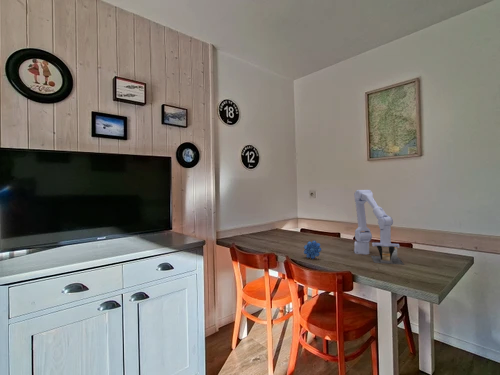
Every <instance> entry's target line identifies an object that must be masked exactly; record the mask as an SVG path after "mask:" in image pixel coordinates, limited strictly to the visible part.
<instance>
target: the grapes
mask: <svg viewBox="0 0 500 375" xmlns="http://www.w3.org/2000/svg"><path fill="white" fill-rule="evenodd" d="M320 252H322V247H321V243H320V242H317V241H316V240H312V241H307V243H306V244H305V245H304V246H303V254H304V255H305V256H306V258H307V259H309V258H311V260H314V259H315V258H316V257H318V258H319V256H320Z"/></svg>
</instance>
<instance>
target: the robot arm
mask: <svg viewBox="0 0 500 375" xmlns="http://www.w3.org/2000/svg"><path fill="white" fill-rule="evenodd" d="M354 202H355V208H356V217H357V228H356V229H355V230H354V238H355V241H354V246H353V247H354V249H353V252H354V254H356V255H369V254H370V242H371V240H372V239H373V235H372V232H371V229H370V228H369V227H368V226H367V219H366V217H367V216H366V208H365V204H366V202H367V203H368V204H369V206H370V207H371V208H372V213H373V215H374V216H375V217H376V219H377V225H378V226H379V227H378V228H379V231H380V232H379V240H380V242H372V243H371V245H372V247H376V248H377V250H378V253H379V256H380V258H381V259H382V252H383V248H388V252H389V253H390V260H391V259H392V258H391V256H392V254H393V252H394V250H395V248H394V247H397V249H400V244H399V243H394V242H393V243H392V242H391V240H392V236H391V235H392V234H391V231H392V229H391V228H392V227H391V226H393V223H394V221H393V217H391V215H390V216H389V215H388V214H387V213H386V211H385V210H384V208H383V207H382V206H379V205H378V203H377V202H376V200H375V199H374V192H372V190H371V189H356V191H355V192H354Z"/></svg>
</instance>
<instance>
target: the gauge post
mask: <svg viewBox="0 0 500 375" xmlns="http://www.w3.org/2000/svg"><path fill="white" fill-rule="evenodd" d="M394 248H395V250H394V252H393V254H392V256H391V259H393V260H394V259H395V260H396V259H398V258H397V257H398V248H397V247H394Z"/></svg>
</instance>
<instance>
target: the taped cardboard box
mask: <svg viewBox="0 0 500 375" xmlns="http://www.w3.org/2000/svg"><path fill="white" fill-rule="evenodd" d="M382 260H385V261H390V253H389V251H382Z"/></svg>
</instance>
